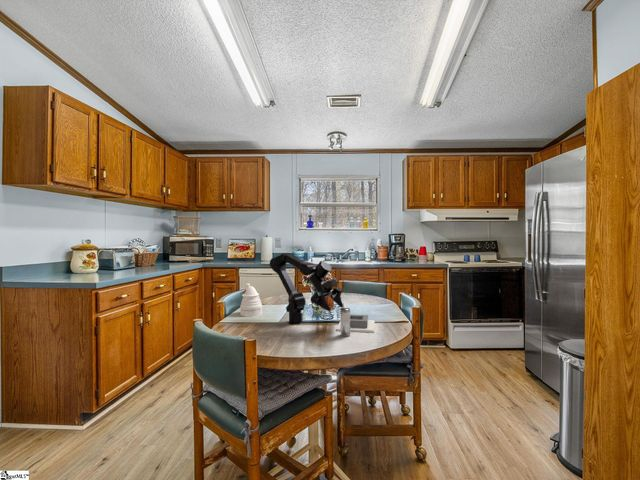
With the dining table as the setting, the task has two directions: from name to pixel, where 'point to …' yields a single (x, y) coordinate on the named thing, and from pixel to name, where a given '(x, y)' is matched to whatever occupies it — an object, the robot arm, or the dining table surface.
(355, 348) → the dining table surface
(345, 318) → the grey cylindrical piece
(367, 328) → the mount
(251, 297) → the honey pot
